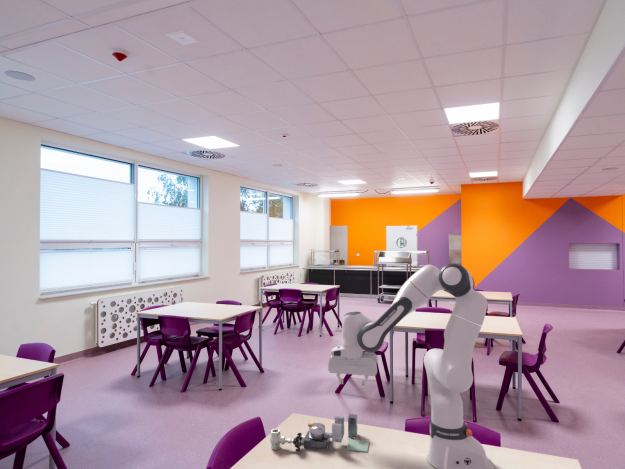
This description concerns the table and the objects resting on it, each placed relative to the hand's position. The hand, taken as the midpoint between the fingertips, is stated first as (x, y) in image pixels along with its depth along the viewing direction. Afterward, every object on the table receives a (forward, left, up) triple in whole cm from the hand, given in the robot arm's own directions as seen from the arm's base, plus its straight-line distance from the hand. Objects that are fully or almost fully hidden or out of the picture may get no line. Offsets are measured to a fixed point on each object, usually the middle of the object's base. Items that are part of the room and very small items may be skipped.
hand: (352, 384), depth 163 cm
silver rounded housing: (+10, +10, -18) cm, 22 cm away
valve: (+24, +16, -21) cm, 36 cm away
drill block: (+14, +10, -21) cm, 27 cm away
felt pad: (-3, +8, -21) cm, 23 cm away
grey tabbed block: (0, 0, -21) cm, 21 cm away
